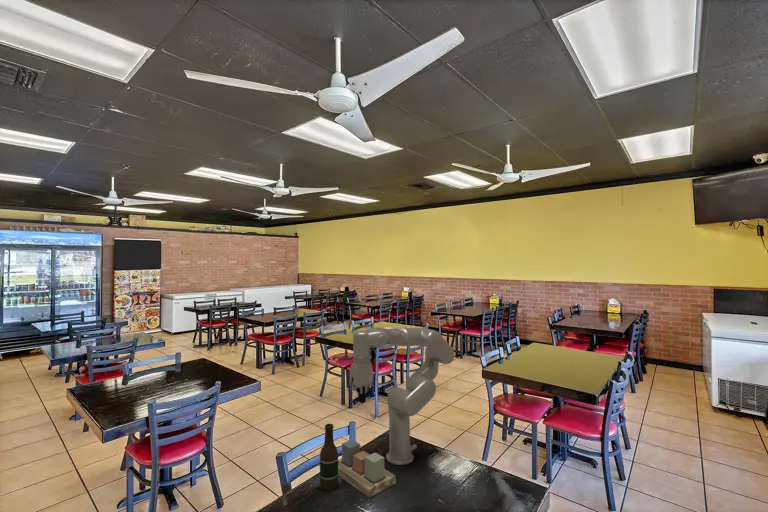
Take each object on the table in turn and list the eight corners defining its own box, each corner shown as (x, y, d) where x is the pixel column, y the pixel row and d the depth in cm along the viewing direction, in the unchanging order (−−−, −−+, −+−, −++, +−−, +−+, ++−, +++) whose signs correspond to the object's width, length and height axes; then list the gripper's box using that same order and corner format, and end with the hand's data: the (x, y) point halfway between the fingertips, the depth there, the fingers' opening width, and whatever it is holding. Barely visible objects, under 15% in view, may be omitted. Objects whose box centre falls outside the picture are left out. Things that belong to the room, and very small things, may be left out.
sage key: (375, 472, 150) (375, 452, 151) (384, 477, 146) (384, 457, 146) (364, 477, 146) (364, 457, 147) (373, 483, 142) (373, 462, 143)
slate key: (352, 457, 162) (352, 439, 162) (359, 462, 158) (359, 443, 158) (341, 462, 158) (341, 443, 159) (349, 467, 154) (349, 448, 155)
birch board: (356, 459, 166) (356, 452, 166) (395, 483, 147) (395, 475, 147) (331, 470, 157) (331, 463, 157) (369, 497, 138) (369, 489, 138)
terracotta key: (363, 469, 156) (363, 450, 156) (371, 475, 152) (371, 455, 152) (353, 474, 152) (353, 455, 153) (361, 480, 148) (361, 460, 148)
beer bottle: (334, 492, 141) (335, 429, 142) (316, 490, 143) (316, 428, 144) (341, 481, 149) (341, 421, 150) (323, 479, 150) (323, 420, 151)
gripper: (369, 355, 167) (369, 395, 166) (342, 360, 157) (342, 403, 156) (380, 358, 161) (380, 400, 161) (353, 364, 151) (353, 408, 151)
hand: (361, 401), depth 158 cm, fingers closed
